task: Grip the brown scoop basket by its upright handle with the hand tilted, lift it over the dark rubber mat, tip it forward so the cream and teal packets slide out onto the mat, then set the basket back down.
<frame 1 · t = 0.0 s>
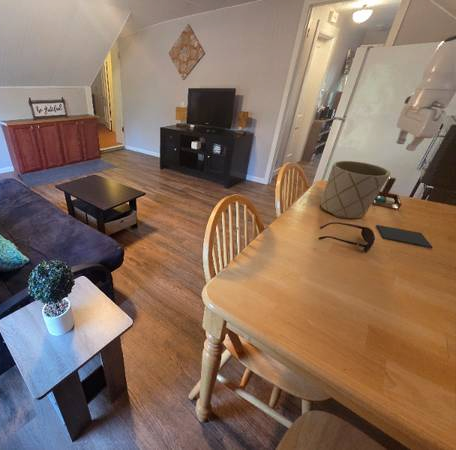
hand: (404, 146, 81), 32 cm above the table, tool pointing down, fingers open, 8 cm apart
sunglasses: (342, 240, 91), on the table
packet a: (388, 202, 116), point 1 cm above the table, touching basket
basket: (383, 202, 118), on the table, touching packet a, packet b
packet b: (379, 200, 118), point 1 cm above the table, touching basket
planter: (340, 211, 110), on the table
mat: (402, 236, 93), on the table
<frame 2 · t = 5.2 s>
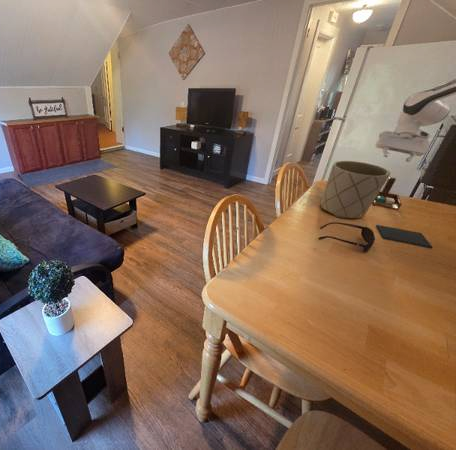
hand: (396, 158, 122), 16 cm above the table, tool tilted 40°, fingers open, 8 cm apart
nothing on the table moved.
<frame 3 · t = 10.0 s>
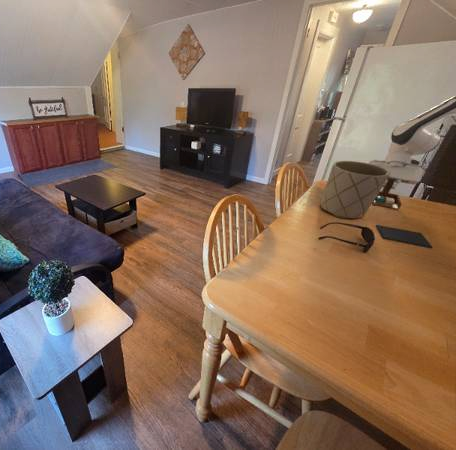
hand: (387, 187, 119), 5 cm above the table, tool tilted 45°, fingers closed on basket, 2 cm apart
basket: (383, 202, 118), on the table, touching gripper, packet a, packet b
everything else where it was.
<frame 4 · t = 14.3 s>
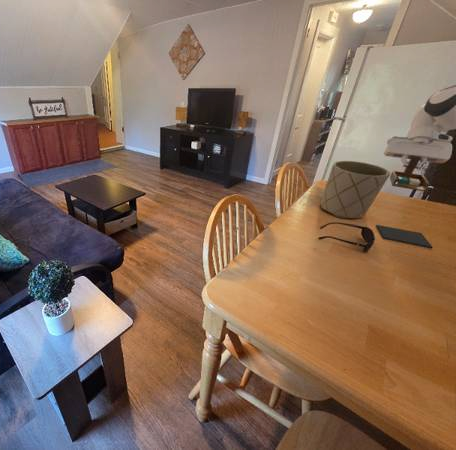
hand: (411, 167, 103), 19 cm above the table, tool tilted 45°, fingers closed on basket, 2 cm apart
packet a: (412, 183, 100), point 14 cm above the table, touching basket
basket: (406, 183, 101), point 14 cm above the table, touching gripper, packet a, packet b
packet b: (401, 181, 102), point 14 cm above the table, touching basket
everything else where it was.
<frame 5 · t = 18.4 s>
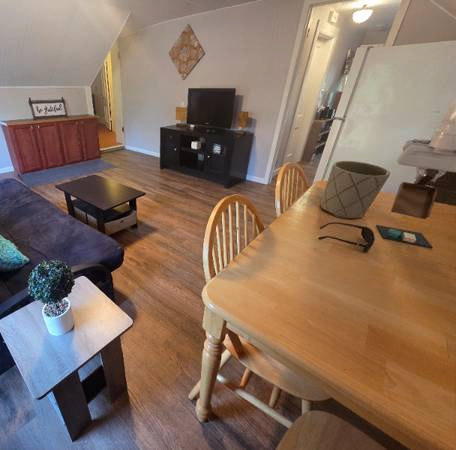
hand: (424, 180, 91), 19 cm above the table, tool pointing down, fingers closed on basket, 2 cm apart
packet a: (409, 235, 90), point 2 cm above the table, tilted 180°, touching mat
basket: (411, 201, 95), point 10 cm above the table, tilted 45°, touching gripper
packet b: (395, 231, 92), point 2 cm above the table, tilted 180°, touching mat
everything else where it was.
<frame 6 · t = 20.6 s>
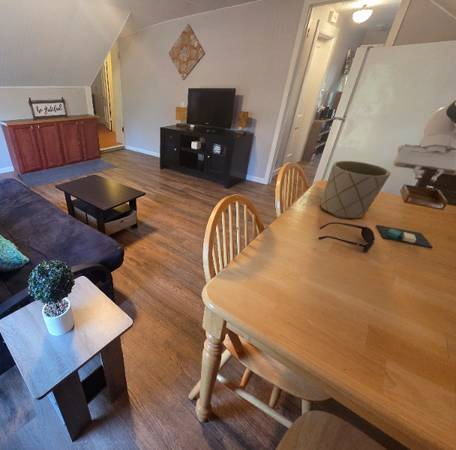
hand: (425, 180, 90), 19 cm above the table, tool tilted 45°, fingers closed on basket, 2 cm apart
basket: (419, 200, 89), point 14 cm above the table, touching gripper
everything else where it was.
when the fingers open (5 cm above the table, at t = 28.7 s): basket stays where it is, on the table.
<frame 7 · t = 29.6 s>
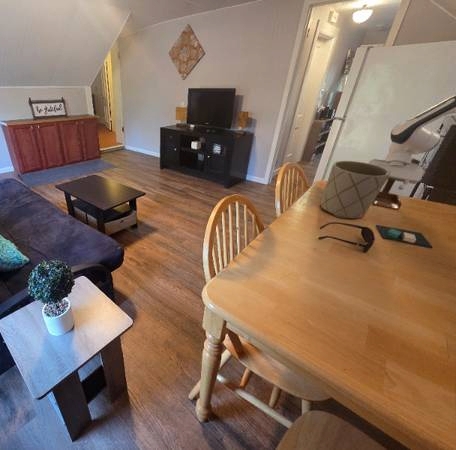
hand: (388, 186, 119), 6 cm above the table, tool tilted 45°, fingers open, 8 cm apart
basket: (383, 202, 118), on the table
everything else where it was.
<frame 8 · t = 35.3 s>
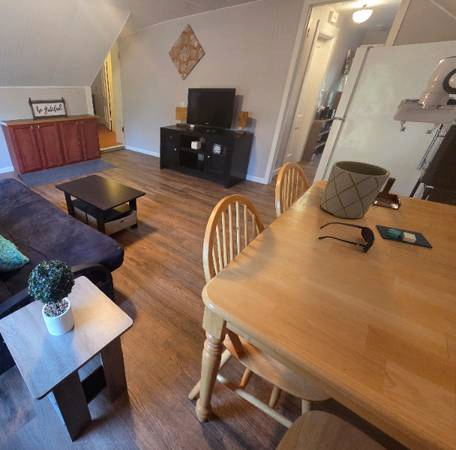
hand: (414, 132, 116), 29 cm above the table, tool pointing down, fingers open, 8 cm apart
nothing on the table moved.
at the end: packet a inside the target area on the mat (2.8 cm from its centre), point 2.1 cm above the mat's base; packet b inside the target area on the mat (3.8 cm from its centre), point 2.1 cm above the mat's base; basket tilted 0° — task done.
